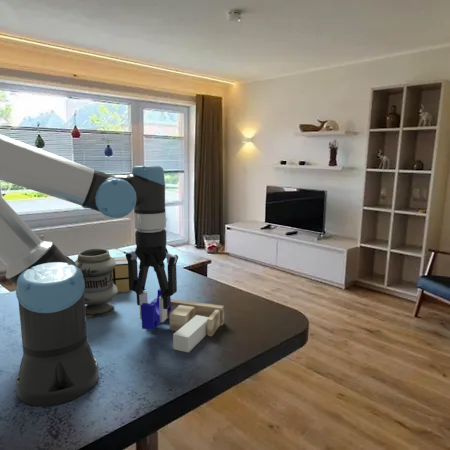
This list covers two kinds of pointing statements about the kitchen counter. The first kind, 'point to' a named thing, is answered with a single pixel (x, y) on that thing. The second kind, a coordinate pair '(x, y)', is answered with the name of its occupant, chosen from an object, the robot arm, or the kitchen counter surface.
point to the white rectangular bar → (190, 334)
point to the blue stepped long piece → (152, 313)
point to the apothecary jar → (97, 281)
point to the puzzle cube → (121, 274)
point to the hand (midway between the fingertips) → (153, 318)
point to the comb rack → (188, 310)
